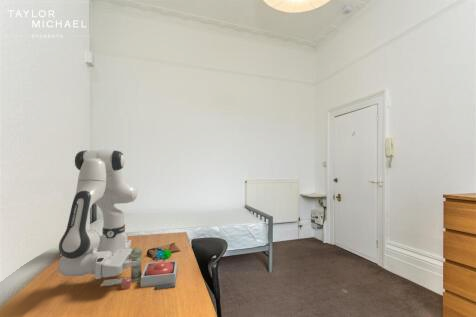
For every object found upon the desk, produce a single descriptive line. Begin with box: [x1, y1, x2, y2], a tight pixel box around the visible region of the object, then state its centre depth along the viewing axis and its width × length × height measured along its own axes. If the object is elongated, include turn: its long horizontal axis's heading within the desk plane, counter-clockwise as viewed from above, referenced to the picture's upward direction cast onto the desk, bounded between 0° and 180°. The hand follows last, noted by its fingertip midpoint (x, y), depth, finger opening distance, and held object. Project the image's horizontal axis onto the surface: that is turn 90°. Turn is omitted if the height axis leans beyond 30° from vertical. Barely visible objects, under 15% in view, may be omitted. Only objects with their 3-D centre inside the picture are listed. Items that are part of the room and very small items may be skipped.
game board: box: [99, 260, 178, 291], centre depth 98 cm, size 16×31×5 cm, turn 102°
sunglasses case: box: [146, 242, 181, 260], centre depth 131 cm, size 18×7×7 cm
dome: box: [147, 261, 173, 276], centre depth 100 cm, size 11×11×6 cm
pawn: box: [129, 246, 143, 283], centre depth 98 cm, size 5×5×14 cm
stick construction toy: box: [152, 246, 172, 262], centre depth 122 cm, size 12×7×8 cm
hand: (138, 259), depth 98 cm, fingers open, 6 cm apart
